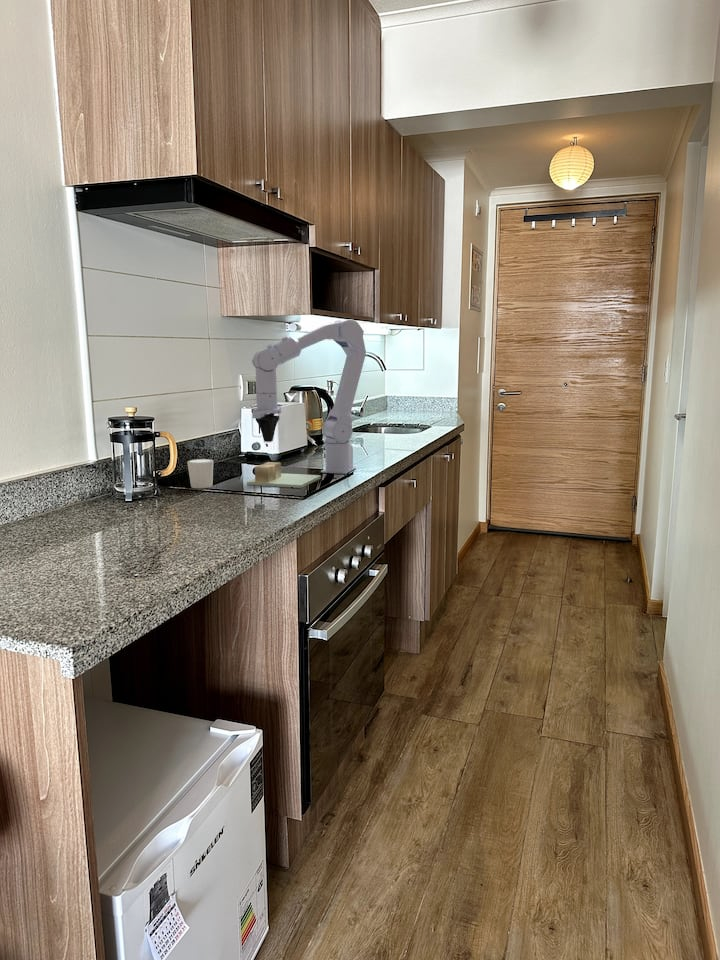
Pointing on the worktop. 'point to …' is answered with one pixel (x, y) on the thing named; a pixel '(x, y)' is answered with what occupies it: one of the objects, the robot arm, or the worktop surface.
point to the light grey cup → (201, 473)
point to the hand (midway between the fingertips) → (268, 441)
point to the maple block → (267, 472)
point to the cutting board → (288, 480)
